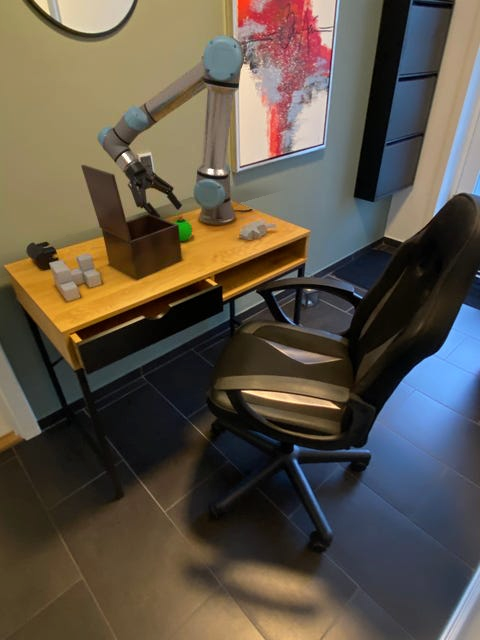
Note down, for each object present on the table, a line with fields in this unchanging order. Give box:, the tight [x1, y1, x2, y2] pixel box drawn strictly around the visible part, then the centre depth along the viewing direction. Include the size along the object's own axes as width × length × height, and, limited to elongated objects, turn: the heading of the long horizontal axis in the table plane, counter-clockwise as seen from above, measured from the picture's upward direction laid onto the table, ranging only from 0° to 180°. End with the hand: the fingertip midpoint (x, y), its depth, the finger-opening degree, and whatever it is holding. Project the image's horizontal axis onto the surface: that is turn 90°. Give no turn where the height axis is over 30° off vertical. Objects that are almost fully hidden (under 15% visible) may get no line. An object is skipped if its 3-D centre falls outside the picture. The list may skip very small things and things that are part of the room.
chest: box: [101, 213, 183, 281], centre depth 134 cm, size 19×16×13 cm
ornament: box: [173, 214, 193, 242], centre depth 150 cm, size 8×8×10 cm
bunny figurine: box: [238, 218, 277, 242], centre depth 155 cm, size 10×5×15 cm
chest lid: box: [80, 164, 131, 241], centre depth 118 cm, size 20×16×1 cm
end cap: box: [25, 241, 60, 270], centre depth 135 cm, size 10×7×7 cm
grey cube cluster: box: [49, 252, 103, 302], centre depth 121 cm, size 12×12×8 cm
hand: (169, 213), depth 149 cm, fingers open, 13 cm apart
